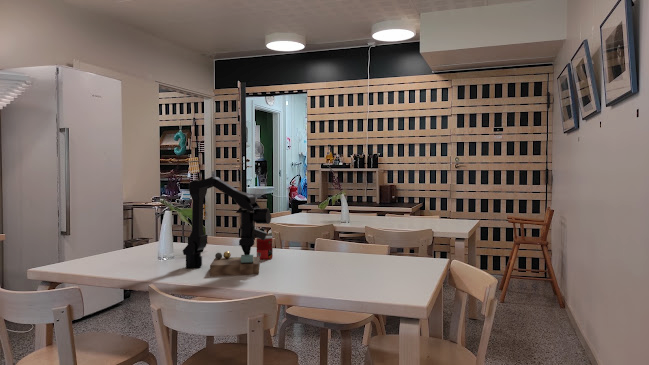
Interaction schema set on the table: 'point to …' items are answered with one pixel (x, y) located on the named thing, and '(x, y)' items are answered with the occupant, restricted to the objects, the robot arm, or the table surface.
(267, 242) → the canned food
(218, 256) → the black rubber ball
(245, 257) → the teal block
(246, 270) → the board
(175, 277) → the table surface
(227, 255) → the brass ball
